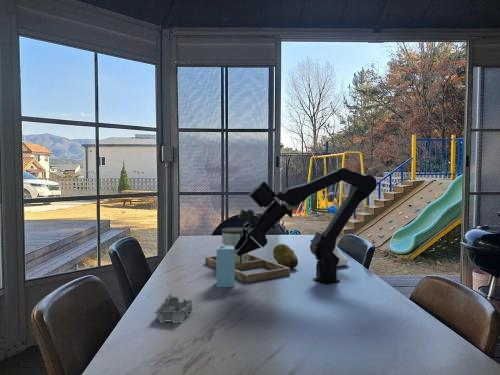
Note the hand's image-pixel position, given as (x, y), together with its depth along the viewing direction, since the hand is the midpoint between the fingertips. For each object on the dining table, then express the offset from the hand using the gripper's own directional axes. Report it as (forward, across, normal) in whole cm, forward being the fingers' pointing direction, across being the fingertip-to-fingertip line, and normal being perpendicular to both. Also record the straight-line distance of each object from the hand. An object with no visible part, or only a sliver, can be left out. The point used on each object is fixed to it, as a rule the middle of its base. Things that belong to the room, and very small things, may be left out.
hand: (236, 251), depth 126 cm
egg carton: (+20, +26, -4) cm, 33 cm away
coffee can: (+6, -25, +9) cm, 28 cm away
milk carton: (+10, 0, +5) cm, 11 cm away
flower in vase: (-21, -22, +35) cm, 46 cm away
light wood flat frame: (+4, -19, +11) cm, 22 cm away
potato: (-7, -21, +22) cm, 31 cm away
